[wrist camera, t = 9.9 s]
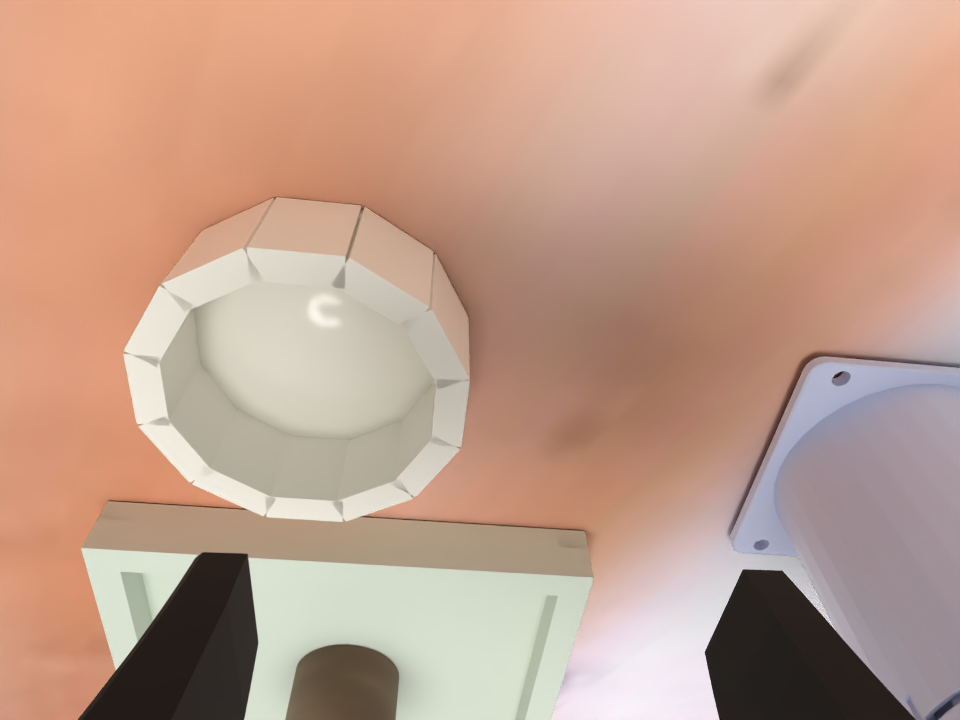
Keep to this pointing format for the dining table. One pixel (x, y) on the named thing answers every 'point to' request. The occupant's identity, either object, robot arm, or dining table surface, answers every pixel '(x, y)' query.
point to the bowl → (304, 362)
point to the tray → (366, 600)
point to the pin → (344, 685)
